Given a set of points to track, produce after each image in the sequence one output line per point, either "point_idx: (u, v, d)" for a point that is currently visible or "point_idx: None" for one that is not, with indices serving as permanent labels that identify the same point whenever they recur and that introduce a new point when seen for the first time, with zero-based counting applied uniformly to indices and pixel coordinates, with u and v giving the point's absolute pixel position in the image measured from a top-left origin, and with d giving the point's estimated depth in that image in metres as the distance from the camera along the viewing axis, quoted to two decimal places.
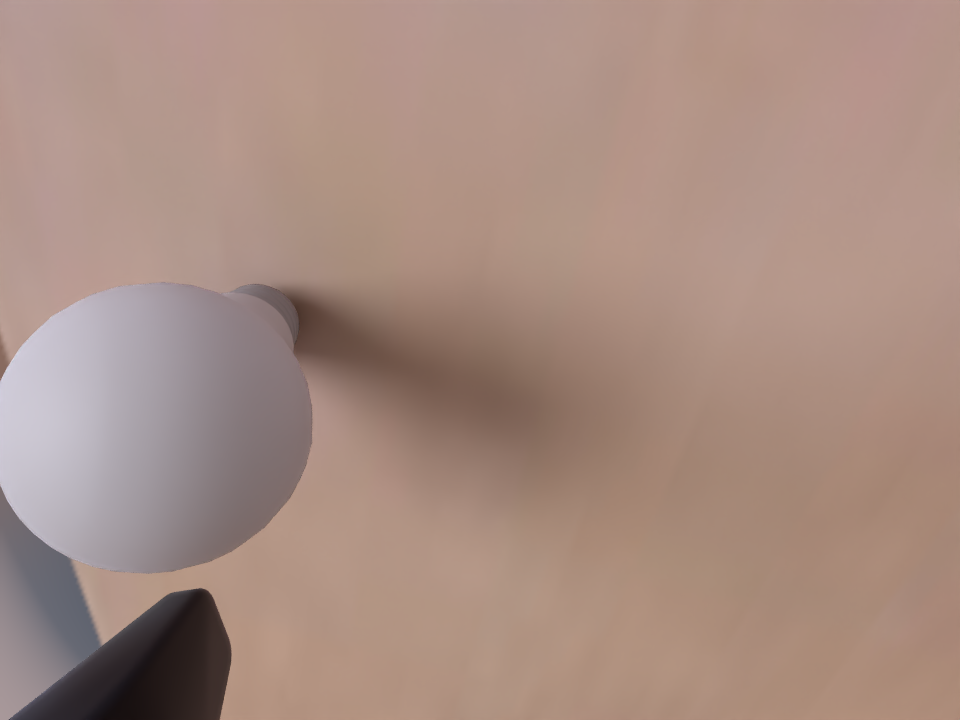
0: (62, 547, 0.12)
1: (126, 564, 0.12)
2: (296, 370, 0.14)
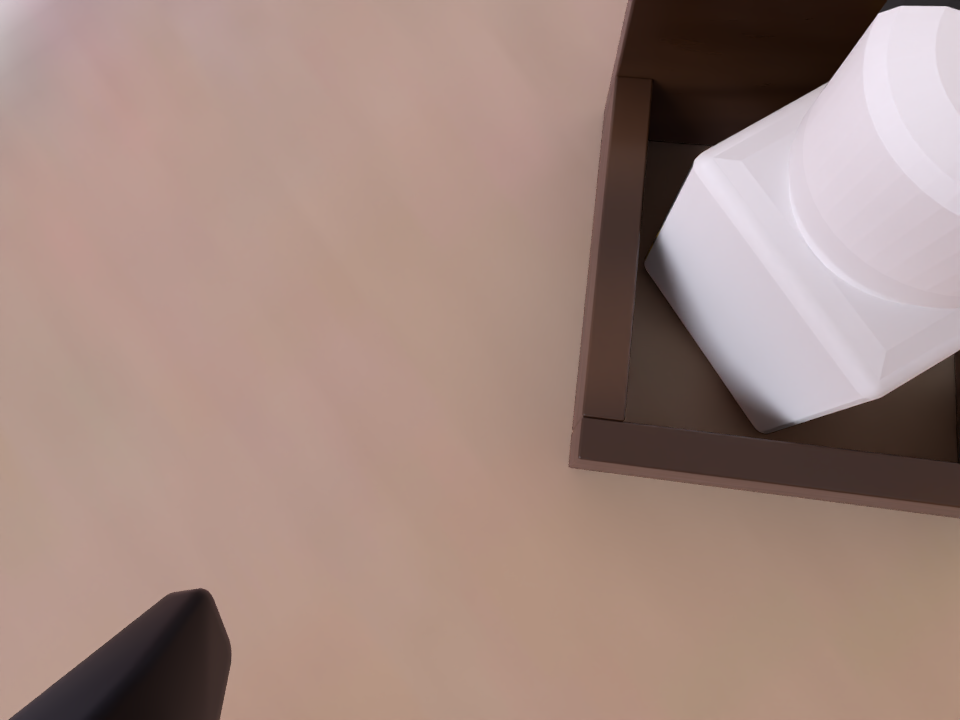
0: None
1: None
2: None
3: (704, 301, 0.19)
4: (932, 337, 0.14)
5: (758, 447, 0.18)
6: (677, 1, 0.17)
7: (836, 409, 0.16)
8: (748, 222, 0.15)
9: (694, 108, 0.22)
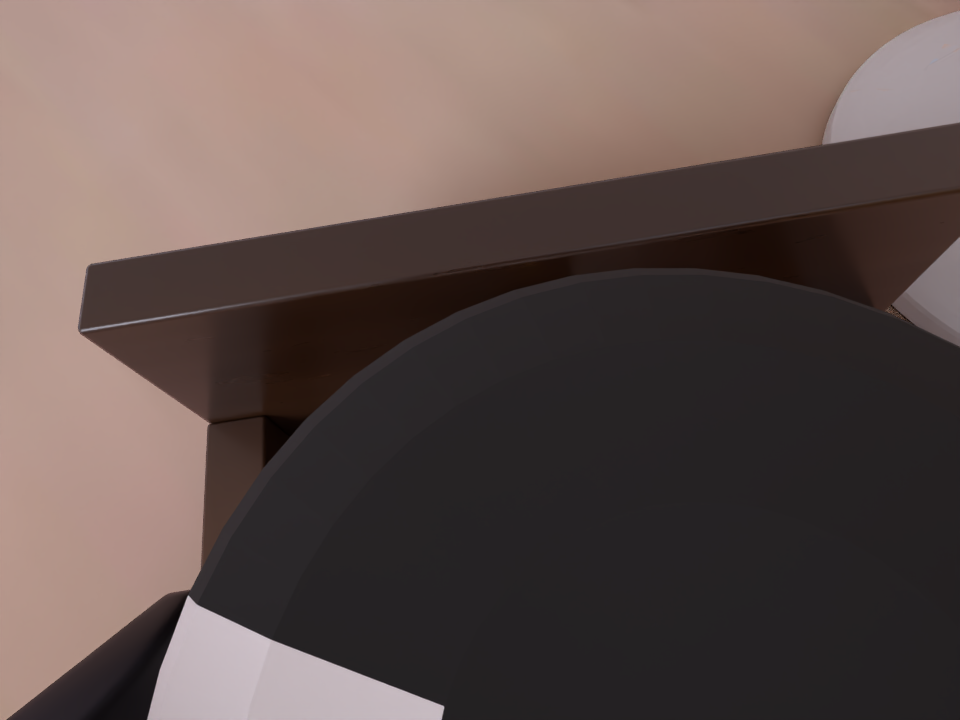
0: None
1: None
2: None
3: None
4: None
5: None
6: (185, 345, 0.10)
7: None
8: None
9: None
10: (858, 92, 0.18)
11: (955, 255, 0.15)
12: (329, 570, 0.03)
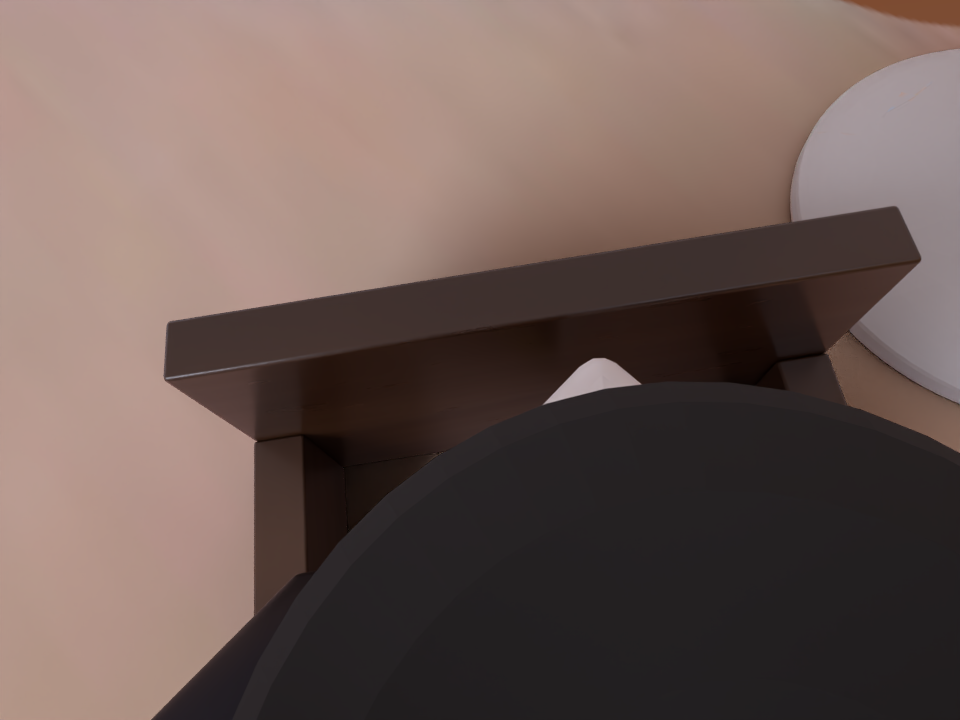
0: None
1: None
2: None
3: None
4: None
5: None
6: (247, 387, 0.12)
7: None
8: None
9: (384, 438, 0.16)
10: (824, 134, 0.20)
11: (901, 289, 0.17)
12: None
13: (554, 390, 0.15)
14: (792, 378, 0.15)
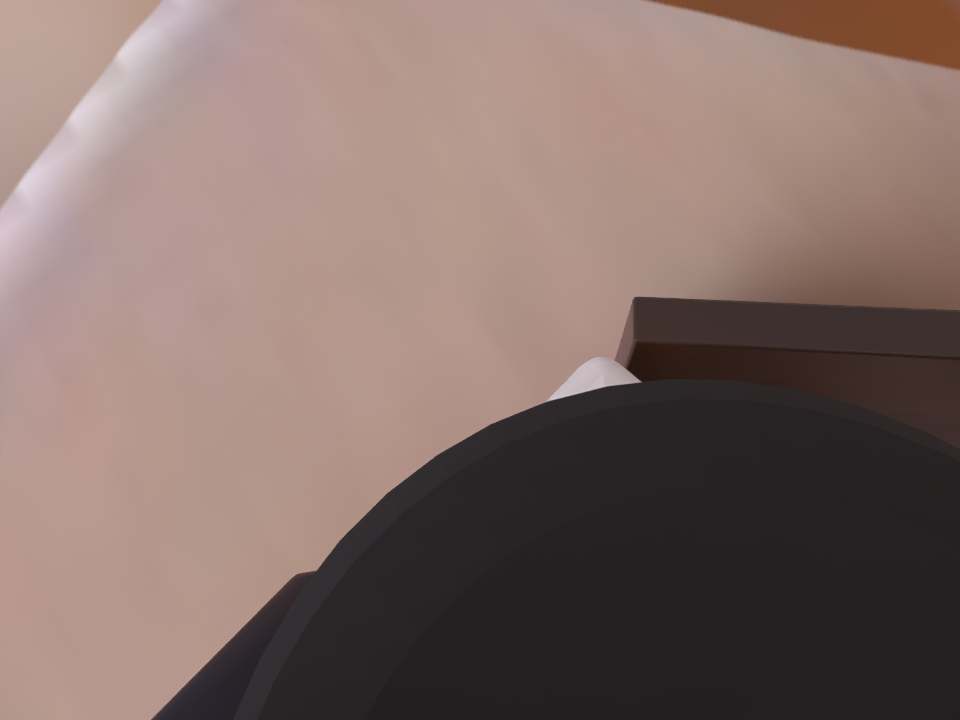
0: None
1: None
2: None
3: None
4: None
5: None
6: (679, 359, 0.15)
7: None
8: None
9: None
10: None
11: None
12: None
13: (884, 412, 0.17)
14: None
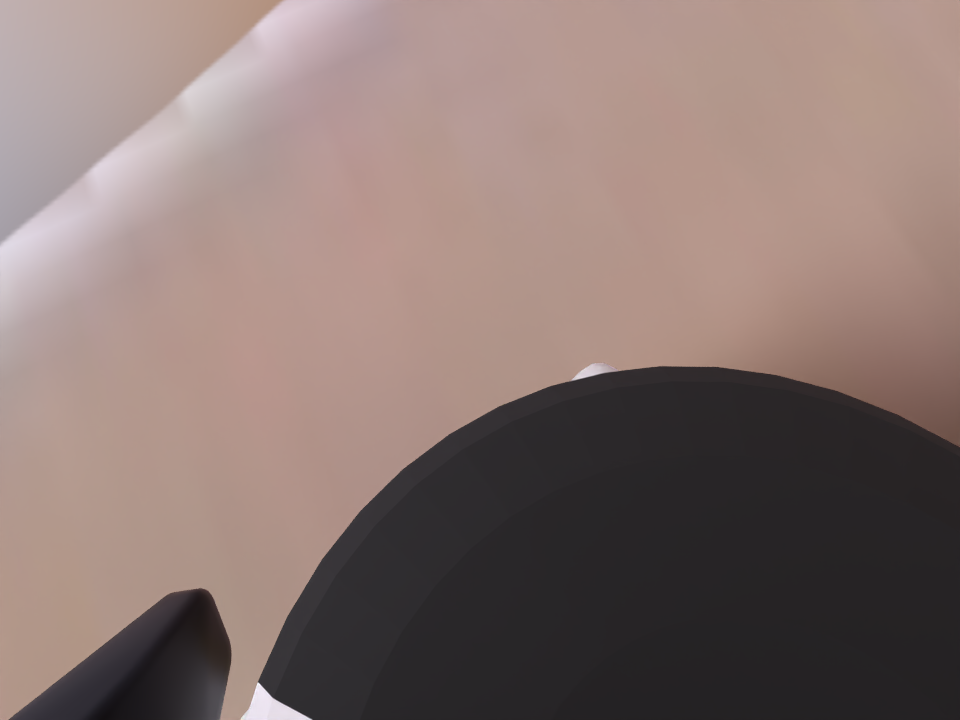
0: None
1: None
2: None
3: None
4: None
5: None
6: None
7: None
8: None
9: None
10: None
11: None
12: (400, 674, 0.04)
13: None
14: None
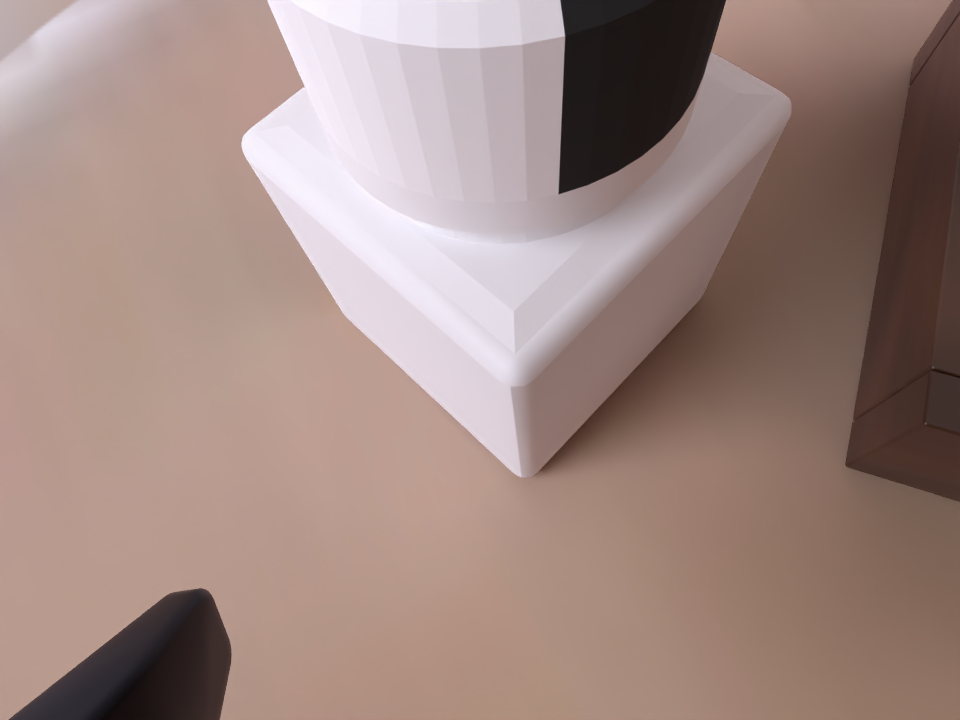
0: None
1: None
2: None
3: (381, 330, 0.15)
4: (574, 275, 0.10)
5: None
6: None
7: (521, 417, 0.11)
8: (310, 196, 0.11)
9: None
10: None
11: None
12: None
13: None
14: None
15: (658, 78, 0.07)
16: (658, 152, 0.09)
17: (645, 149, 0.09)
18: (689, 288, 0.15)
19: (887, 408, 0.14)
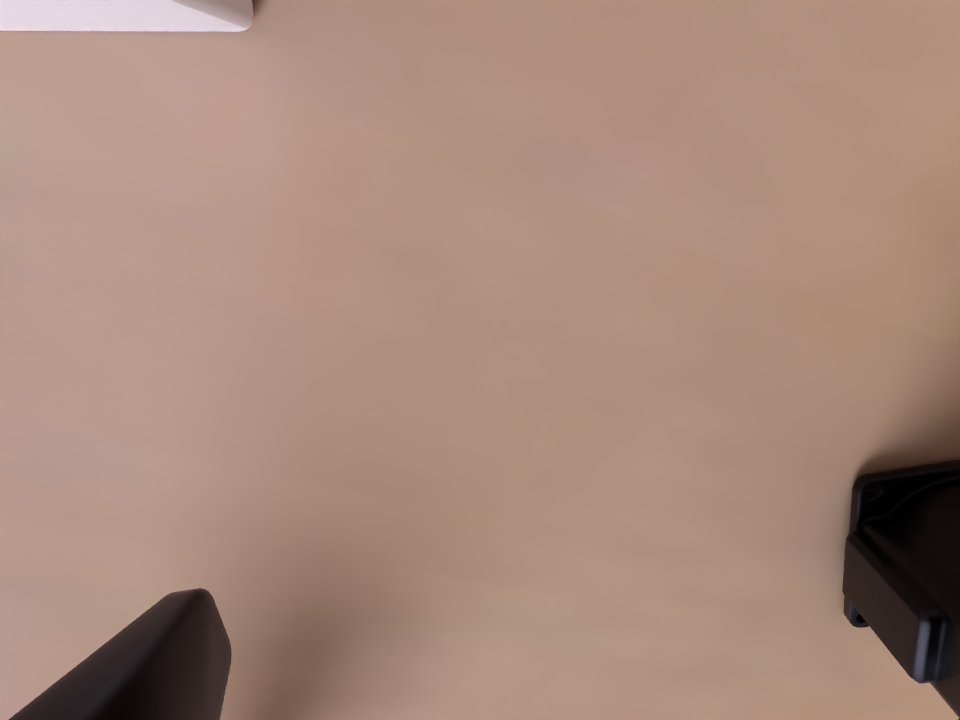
0: None
1: None
2: None
3: (19, 18, 0.14)
4: None
5: None
6: None
7: None
8: None
9: None
10: None
11: None
12: None
13: None
14: None
15: None
16: None
17: None
18: None
19: None
